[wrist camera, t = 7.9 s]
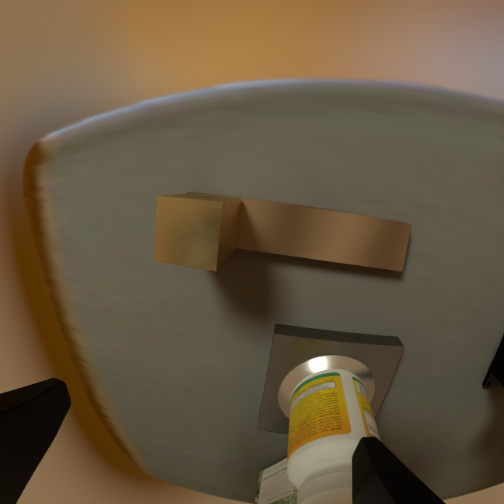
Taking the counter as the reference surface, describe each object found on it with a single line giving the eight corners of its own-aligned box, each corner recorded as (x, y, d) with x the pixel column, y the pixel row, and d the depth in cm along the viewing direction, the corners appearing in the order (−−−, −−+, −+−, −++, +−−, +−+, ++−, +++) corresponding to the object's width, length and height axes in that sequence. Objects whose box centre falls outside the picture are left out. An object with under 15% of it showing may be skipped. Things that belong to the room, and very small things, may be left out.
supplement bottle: (377, 375, 18) (415, 481, 9) (343, 427, 19) (356, 528, 10) (307, 356, 18) (313, 475, 9) (278, 412, 20) (267, 521, 10)
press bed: (397, 336, 19) (404, 347, 17) (362, 425, 21) (365, 438, 19) (275, 323, 20) (274, 334, 18) (258, 417, 22) (256, 430, 20)
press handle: (241, 198, 17) (222, 202, 12) (236, 248, 18) (216, 271, 13) (192, 193, 18) (157, 195, 13) (188, 242, 18) (153, 261, 13)
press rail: (405, 222, 17) (411, 224, 16) (397, 267, 18) (402, 271, 17) (191, 192, 19) (186, 192, 18) (187, 238, 19) (181, 240, 18)
